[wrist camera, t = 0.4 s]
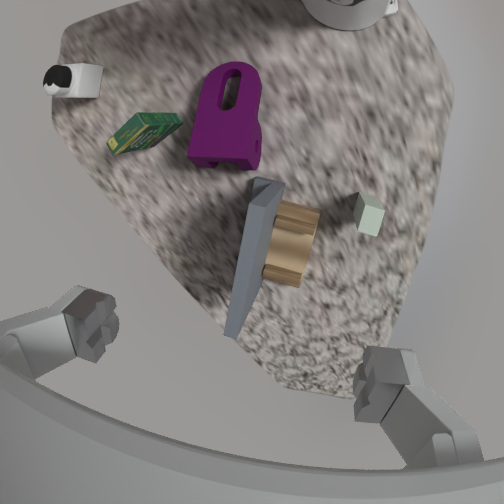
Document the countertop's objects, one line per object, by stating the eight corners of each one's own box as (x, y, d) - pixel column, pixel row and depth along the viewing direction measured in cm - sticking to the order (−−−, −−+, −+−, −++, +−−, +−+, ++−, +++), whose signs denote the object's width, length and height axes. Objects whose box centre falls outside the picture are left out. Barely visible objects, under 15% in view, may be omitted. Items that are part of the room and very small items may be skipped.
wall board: (257, 176, 54) (225, 197, 38) (285, 183, 54) (265, 207, 38) (237, 277, 63) (204, 328, 46) (261, 284, 62) (236, 339, 46)
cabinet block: (359, 191, 51) (365, 204, 42) (375, 196, 51) (385, 210, 42) (352, 213, 53) (357, 230, 44) (368, 218, 53) (376, 236, 43)
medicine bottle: (81, 67, 53) (42, 63, 42) (104, 66, 52) (65, 60, 42) (76, 97, 56) (37, 98, 45) (98, 98, 55) (59, 97, 44)
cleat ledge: (281, 199, 55) (276, 207, 50) (320, 210, 54) (319, 218, 49) (265, 270, 61) (258, 283, 56) (300, 280, 60) (297, 294, 55)
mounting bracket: (222, 87, 55) (204, 173, 55) (208, 62, 47) (186, 156, 46) (270, 87, 54) (257, 176, 53) (263, 61, 45) (247, 159, 44)
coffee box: (153, 149, 57) (112, 156, 45) (145, 137, 56) (103, 142, 44) (184, 124, 54) (146, 125, 42) (176, 112, 53) (137, 110, 41)
